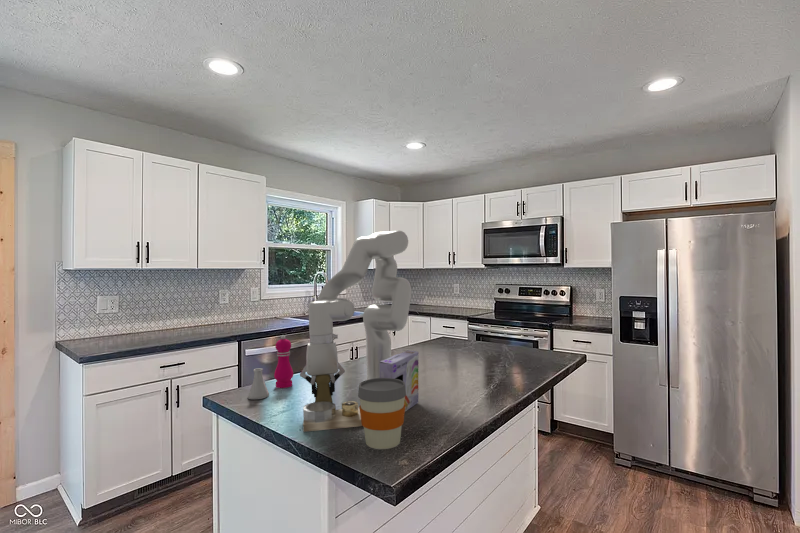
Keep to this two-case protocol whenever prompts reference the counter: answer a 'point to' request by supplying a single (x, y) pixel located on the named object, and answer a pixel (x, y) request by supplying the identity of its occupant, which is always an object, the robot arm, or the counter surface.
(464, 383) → the counter surface
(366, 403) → the reusable coffee cup
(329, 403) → the wide steel collar
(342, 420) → the fitting board
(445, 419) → the counter surface
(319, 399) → the cork
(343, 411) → the narrow brass collar
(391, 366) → the cake pan box
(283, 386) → the pepper mill
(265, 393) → the flask
